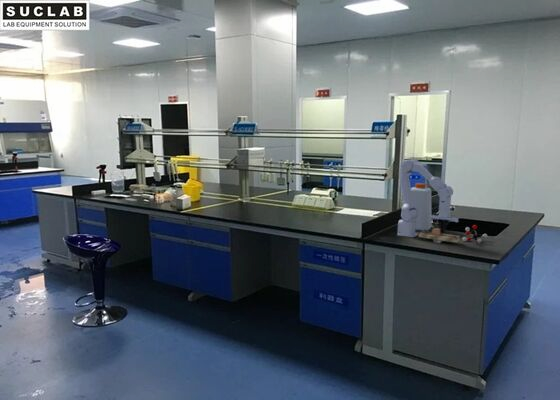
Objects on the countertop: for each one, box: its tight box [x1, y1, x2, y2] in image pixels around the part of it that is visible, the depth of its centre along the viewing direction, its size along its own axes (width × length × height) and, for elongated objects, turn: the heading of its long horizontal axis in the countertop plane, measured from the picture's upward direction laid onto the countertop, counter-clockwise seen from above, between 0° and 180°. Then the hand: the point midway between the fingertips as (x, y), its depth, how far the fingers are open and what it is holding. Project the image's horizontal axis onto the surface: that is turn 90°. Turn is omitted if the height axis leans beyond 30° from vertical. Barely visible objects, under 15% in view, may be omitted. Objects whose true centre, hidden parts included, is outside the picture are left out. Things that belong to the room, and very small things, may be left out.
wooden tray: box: [418, 230, 460, 244], centre depth 235 cm, size 20×7×5 cm, turn 53°
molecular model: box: [461, 224, 488, 244], centre depth 235 cm, size 16×8×10 cm, turn 123°
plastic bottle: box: [411, 182, 433, 232], centre depth 265 cm, size 15×15×28 cm
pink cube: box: [431, 227, 441, 236], centre depth 235 cm, size 4×4×4 cm
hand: (442, 233), depth 234 cm, fingers closed
